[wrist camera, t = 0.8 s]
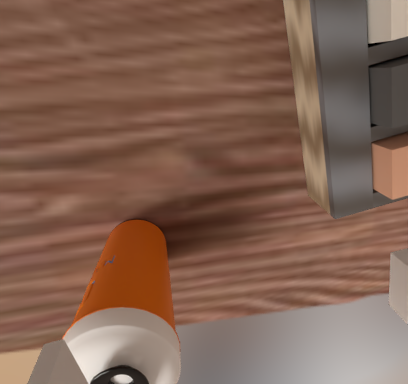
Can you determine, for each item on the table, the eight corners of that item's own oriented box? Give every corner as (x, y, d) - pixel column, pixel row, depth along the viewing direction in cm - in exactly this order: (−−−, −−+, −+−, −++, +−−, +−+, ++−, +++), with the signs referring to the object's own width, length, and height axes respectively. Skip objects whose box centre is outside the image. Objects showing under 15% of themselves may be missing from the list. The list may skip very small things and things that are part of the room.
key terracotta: (364, 140, 31) (392, 150, 27) (411, 127, 31) (445, 135, 27) (366, 185, 33) (392, 199, 29) (410, 172, 33) (442, 185, 29)
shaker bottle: (177, 214, 37) (192, 360, 18) (169, 276, 40) (176, 453, 21) (100, 208, 35) (32, 361, 17) (98, 273, 38) (40, 460, 20)
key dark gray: (361, 68, 28) (391, 67, 24) (413, 53, 28) (450, 51, 24) (363, 121, 30) (391, 128, 26) (411, 107, 30) (446, 112, 26)
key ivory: (357, -21, 25) (390, -36, 22) (414, -36, 25) (457, -54, 22) (360, 44, 27) (391, 40, 24) (413, 29, 27) (452, 23, 24)
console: (268, -112, 26) (299, -166, 20) (422, -153, 27) (497, -218, 21) (308, 195, 38) (335, 219, 32) (414, 164, 38) (461, 182, 32)
